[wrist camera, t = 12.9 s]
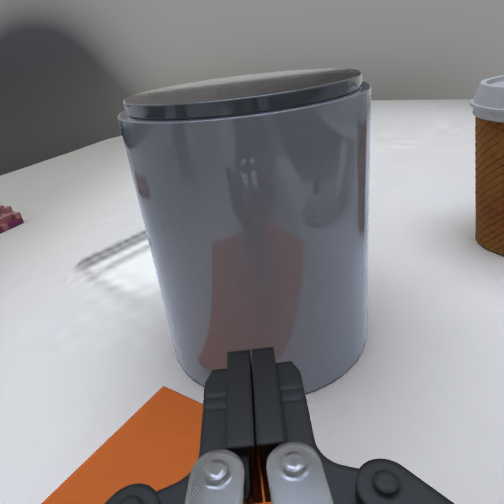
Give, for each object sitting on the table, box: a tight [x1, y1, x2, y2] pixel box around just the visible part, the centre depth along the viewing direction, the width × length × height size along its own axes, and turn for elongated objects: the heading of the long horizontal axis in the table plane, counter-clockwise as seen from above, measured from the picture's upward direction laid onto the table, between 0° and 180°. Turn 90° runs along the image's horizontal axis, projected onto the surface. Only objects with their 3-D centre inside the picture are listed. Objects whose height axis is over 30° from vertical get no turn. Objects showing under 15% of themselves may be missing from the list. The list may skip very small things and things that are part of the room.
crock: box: [118, 68, 371, 394], centre depth 23 cm, size 12×12×15 cm
